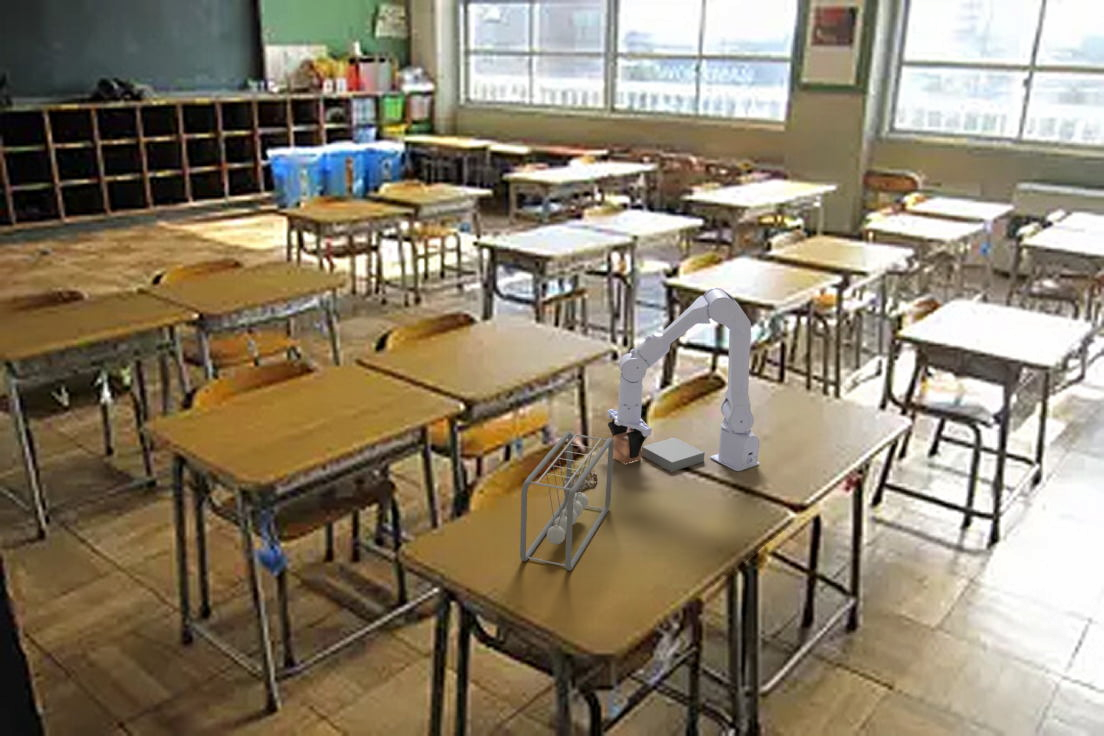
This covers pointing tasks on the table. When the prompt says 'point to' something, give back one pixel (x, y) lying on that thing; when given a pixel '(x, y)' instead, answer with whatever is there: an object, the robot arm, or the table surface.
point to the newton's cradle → (566, 500)
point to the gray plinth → (673, 454)
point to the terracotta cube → (623, 449)
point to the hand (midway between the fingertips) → (626, 453)
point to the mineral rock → (589, 480)
